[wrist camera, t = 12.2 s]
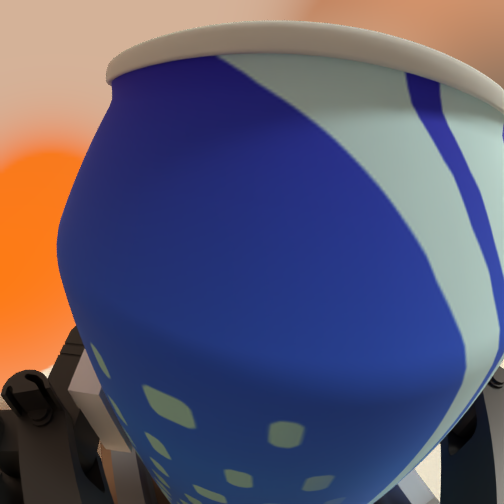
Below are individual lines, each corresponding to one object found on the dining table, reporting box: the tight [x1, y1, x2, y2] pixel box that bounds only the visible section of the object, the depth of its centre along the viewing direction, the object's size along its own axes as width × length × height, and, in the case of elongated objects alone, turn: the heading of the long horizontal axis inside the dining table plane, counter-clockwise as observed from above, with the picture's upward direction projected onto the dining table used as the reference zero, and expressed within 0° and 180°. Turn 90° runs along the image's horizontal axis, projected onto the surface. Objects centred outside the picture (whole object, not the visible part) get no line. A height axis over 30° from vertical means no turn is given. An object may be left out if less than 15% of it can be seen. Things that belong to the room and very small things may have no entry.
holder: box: [101, 443, 440, 504], centre depth 12 cm, size 16×16×4 cm
